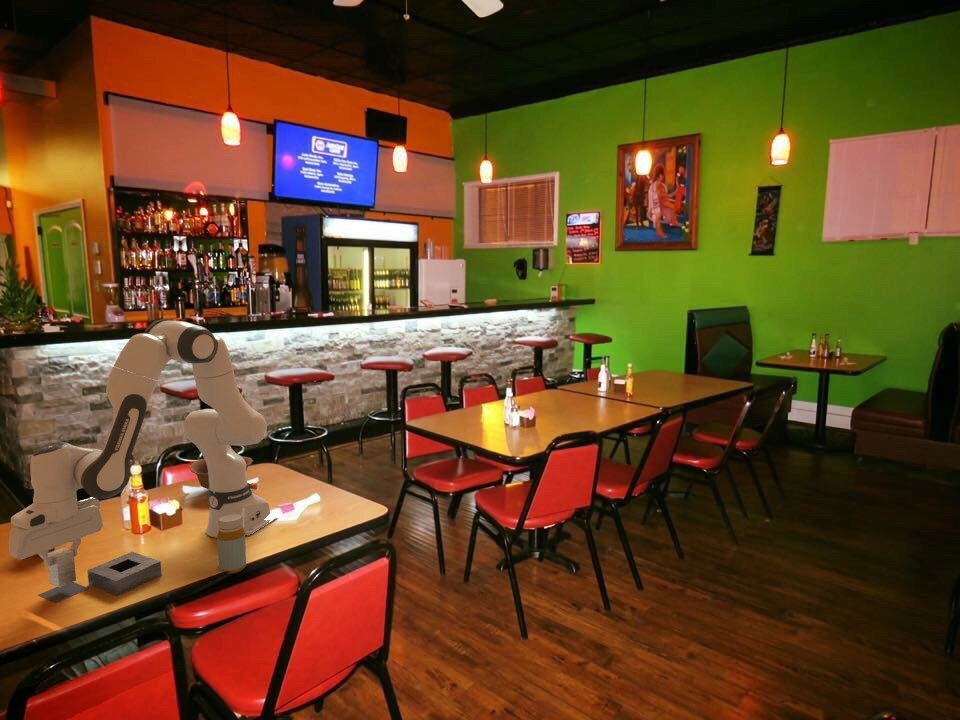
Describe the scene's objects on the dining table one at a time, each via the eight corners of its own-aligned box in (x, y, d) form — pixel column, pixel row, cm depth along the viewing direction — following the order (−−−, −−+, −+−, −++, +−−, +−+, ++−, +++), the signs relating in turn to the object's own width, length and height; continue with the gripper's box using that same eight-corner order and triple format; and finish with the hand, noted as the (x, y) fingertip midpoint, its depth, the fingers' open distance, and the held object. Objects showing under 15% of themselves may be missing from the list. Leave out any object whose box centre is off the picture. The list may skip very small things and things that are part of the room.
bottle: (250, 562, 172) (247, 512, 170) (241, 574, 165) (238, 522, 163) (225, 562, 171) (222, 512, 169) (215, 574, 164) (212, 522, 162)
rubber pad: (71, 584, 159) (71, 580, 159) (89, 592, 155) (89, 588, 155) (37, 598, 152) (37, 595, 152) (56, 606, 148) (55, 603, 148)
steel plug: (66, 576, 155) (64, 547, 154) (76, 580, 154) (73, 550, 153) (50, 583, 152) (47, 553, 151) (59, 587, 150) (56, 556, 149)
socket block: (133, 568, 167) (132, 551, 167) (161, 578, 162) (160, 561, 161) (89, 588, 157) (87, 570, 156) (117, 599, 151) (116, 581, 151)
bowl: (202, 506, 213) (200, 476, 211) (182, 489, 229) (181, 461, 227) (263, 491, 227) (262, 463, 226) (241, 476, 244) (239, 450, 242)
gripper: (91, 493, 161) (95, 542, 163) (2, 520, 143) (8, 575, 145) (105, 497, 158) (109, 547, 160) (17, 525, 140) (23, 581, 142)
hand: (61, 560), depth 152 cm, fingers closed on steel plug, 4 cm apart
